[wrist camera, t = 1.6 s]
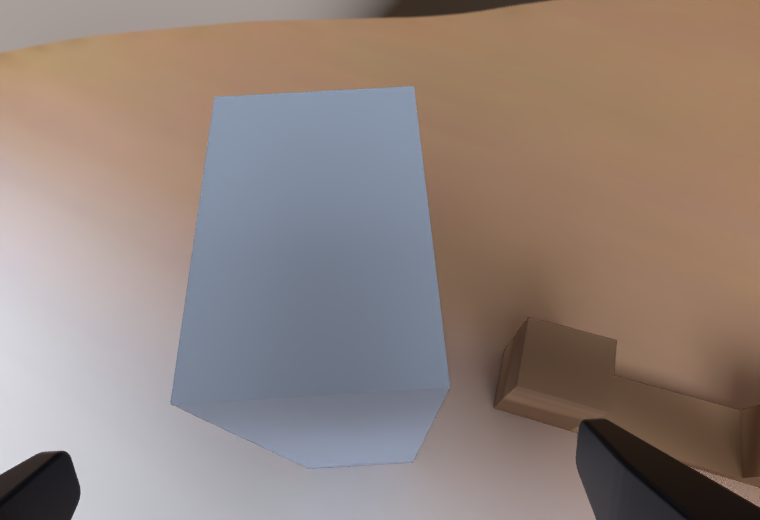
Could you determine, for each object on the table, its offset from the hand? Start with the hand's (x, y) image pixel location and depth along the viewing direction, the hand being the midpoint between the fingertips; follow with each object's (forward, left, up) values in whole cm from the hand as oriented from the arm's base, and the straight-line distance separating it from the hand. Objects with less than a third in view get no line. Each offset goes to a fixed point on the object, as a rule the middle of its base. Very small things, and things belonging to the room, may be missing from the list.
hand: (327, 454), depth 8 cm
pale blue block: (+3, +2, -11) cm, 11 cm away
